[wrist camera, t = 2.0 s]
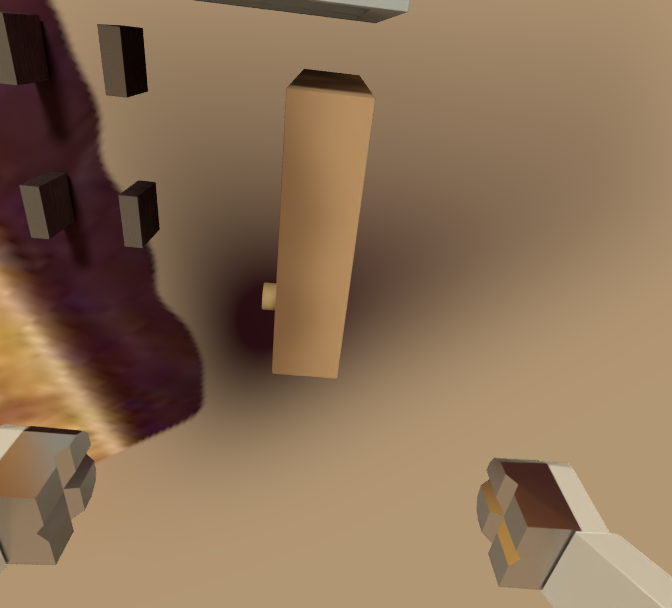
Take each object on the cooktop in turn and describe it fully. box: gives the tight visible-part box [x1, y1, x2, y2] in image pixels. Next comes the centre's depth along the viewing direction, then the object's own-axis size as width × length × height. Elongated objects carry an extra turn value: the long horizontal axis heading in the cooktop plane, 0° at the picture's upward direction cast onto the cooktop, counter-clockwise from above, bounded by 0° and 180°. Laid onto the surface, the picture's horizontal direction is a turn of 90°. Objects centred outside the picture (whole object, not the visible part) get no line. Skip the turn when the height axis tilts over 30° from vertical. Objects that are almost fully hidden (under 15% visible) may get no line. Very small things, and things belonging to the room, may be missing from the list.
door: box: [262, 69, 375, 379], centre depth 23 cm, size 4×12×11 cm, turn 174°
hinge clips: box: [0, 12, 159, 248], centre depth 25 cm, size 6×11×3 cm, turn 174°
